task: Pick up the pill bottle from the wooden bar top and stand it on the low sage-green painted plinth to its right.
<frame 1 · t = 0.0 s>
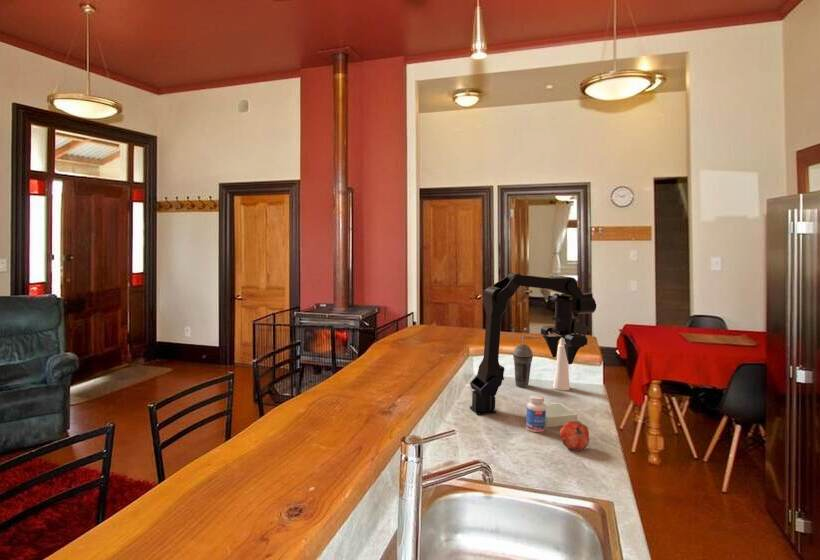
hand: (562, 360, 164), 15 cm above the counter, tool pointing down, fingers open, 9 cm apart
beverage cup: (521, 386, 184), on the counter
plinth: (553, 419, 151), on the counter
pill bottle: (535, 429, 144), on the counter
cosmetic bottle: (561, 388, 181), on the counter
pomegranate: (573, 448, 132), on the counter
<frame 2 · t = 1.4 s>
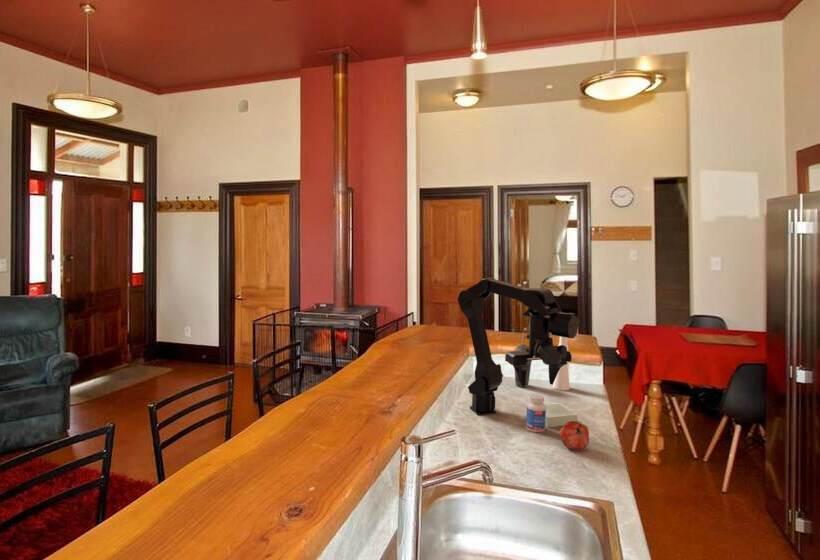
hand: (537, 385, 143), 13 cm above the counter, tool pointing down, fingers open, 9 cm apart
nothing on the counter moved.
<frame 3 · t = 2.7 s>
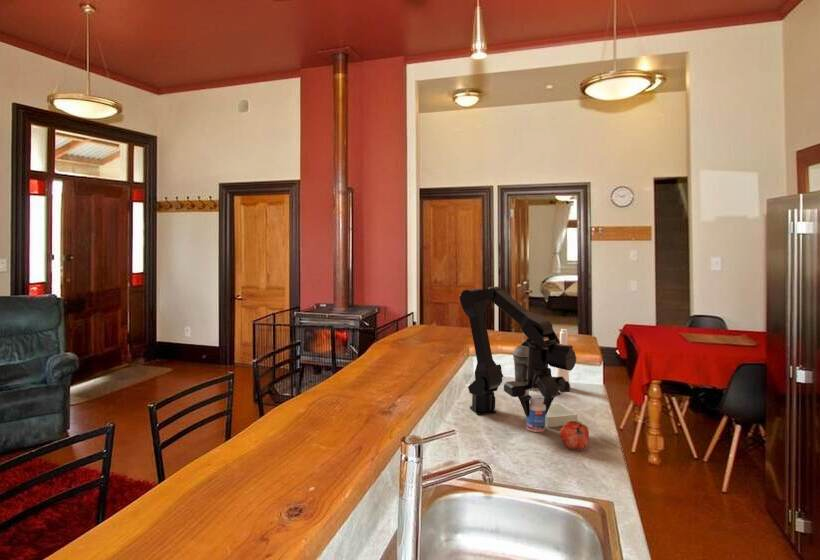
hand: (536, 415, 143), 4 cm above the counter, tool pointing down, fingers closed on pill bottle, 5 cm apart
pill bottle: (535, 429, 144), on the counter, touching gripper
everything else where it was.
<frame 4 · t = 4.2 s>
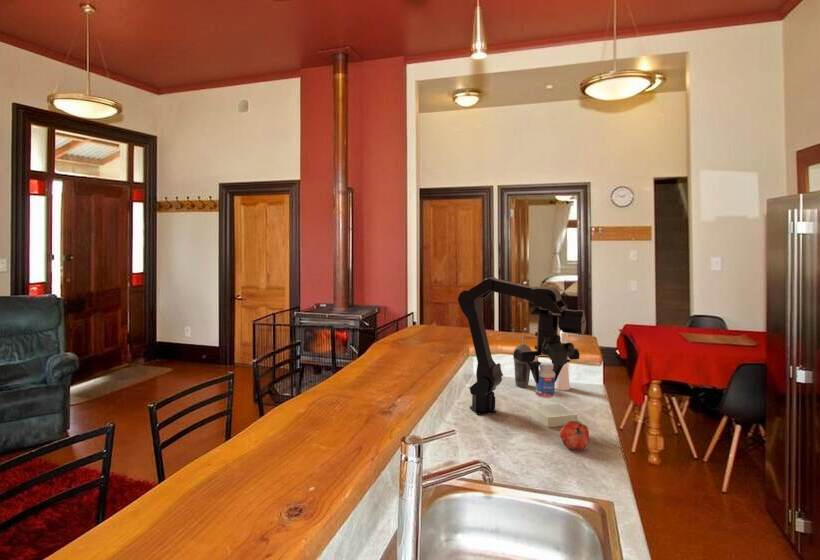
hand: (545, 382, 146), 13 cm above the counter, tool pointing down, fingers closed on pill bottle, 5 cm apart
pill bottle: (544, 396, 146), point 9 cm above the counter, touching gripper
everything else where it was.
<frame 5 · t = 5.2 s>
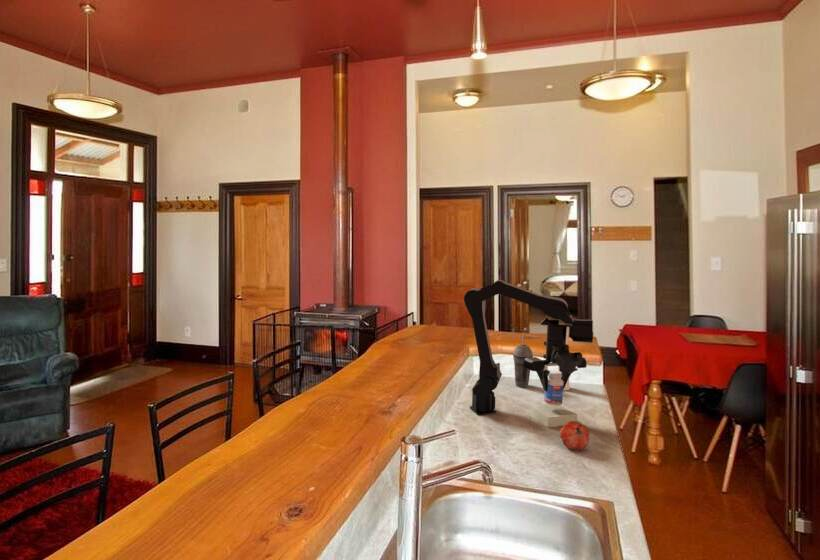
hand: (553, 390, 150), 9 cm above the counter, tool pointing down, fingers closed on pill bottle, 5 cm apart
pill bottle: (553, 403, 150), point 5 cm above the counter, touching gripper
everything else where it was.
when the fingers open (8 cm above the counter, at t = 5.9 s): pill bottle stays where it is, resting on plinth.
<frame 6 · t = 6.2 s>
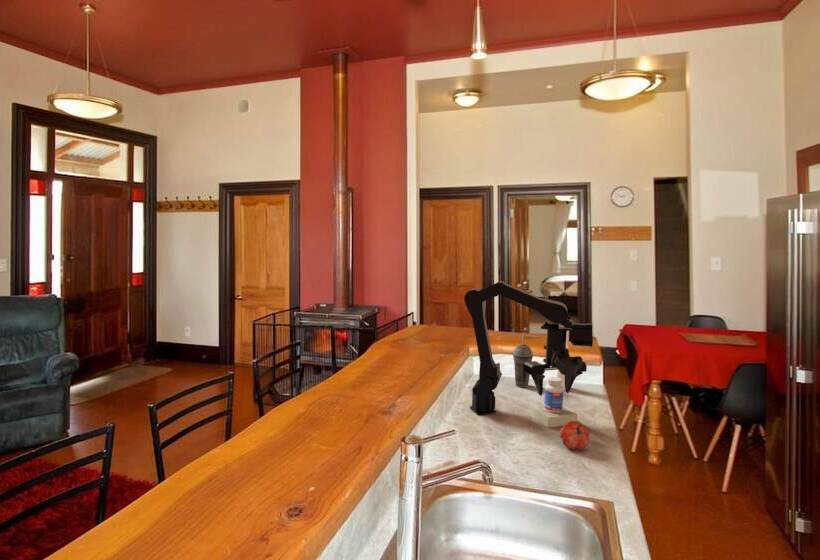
hand: (553, 394, 150), 8 cm above the counter, tool pointing down, fingers open, 9 cm apart
pill bottle: (553, 410, 151), point 3 cm above the counter, touching plinth
everything else where it was.
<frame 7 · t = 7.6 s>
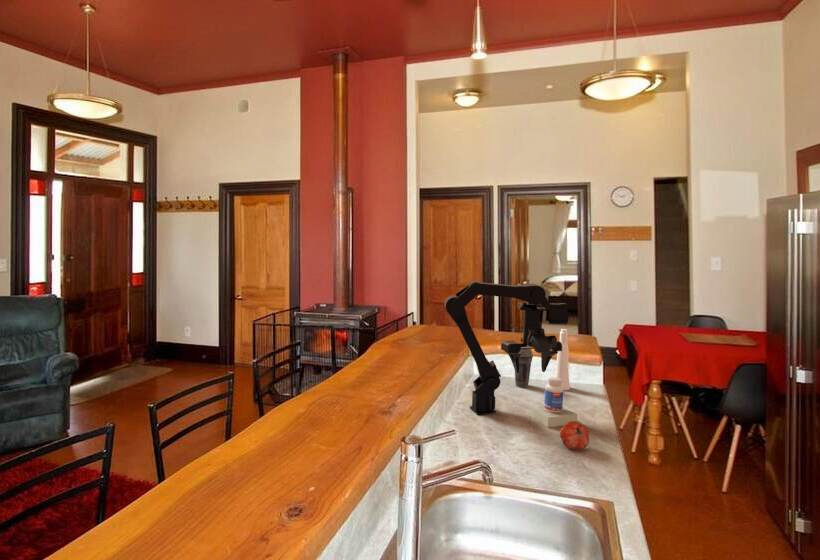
hand: (530, 372, 156), 13 cm above the counter, tool pointing down, fingers open, 9 cm apart
nothing on the counter moved.
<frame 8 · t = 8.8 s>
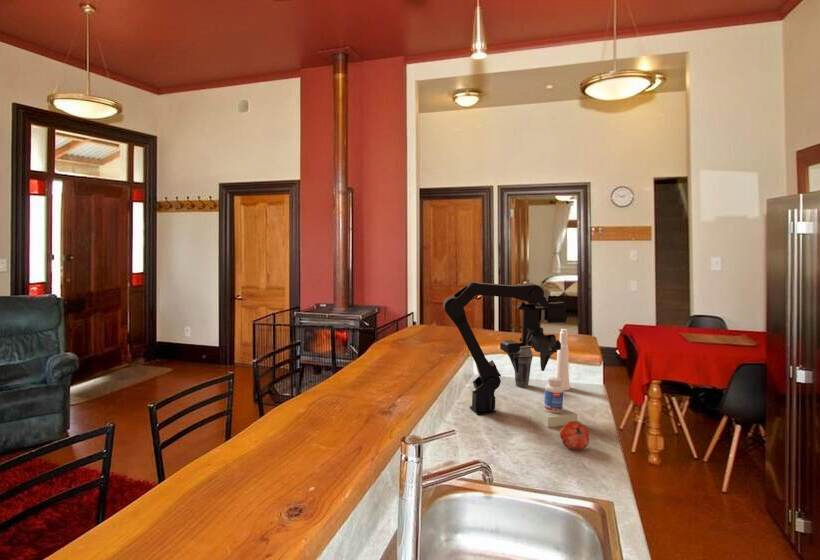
hand: (529, 371, 156), 13 cm above the counter, tool pointing down, fingers open, 9 cm apart
nothing on the counter moved.
at the end: pill bottle 0.1 cm from the plinth (horizontally); pill bottle touching plinth; pill bottle tilted 0° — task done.
